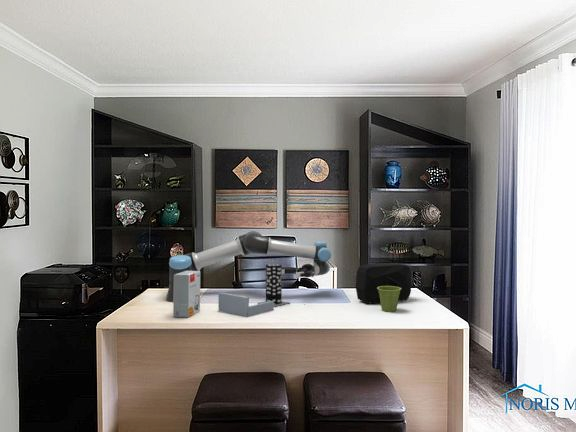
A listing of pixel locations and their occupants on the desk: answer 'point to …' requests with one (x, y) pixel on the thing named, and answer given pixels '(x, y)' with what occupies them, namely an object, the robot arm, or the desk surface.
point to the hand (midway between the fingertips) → (286, 274)
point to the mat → (277, 304)
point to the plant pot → (389, 297)
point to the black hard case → (382, 280)
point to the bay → (242, 305)
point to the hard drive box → (186, 294)
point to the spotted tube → (274, 283)
